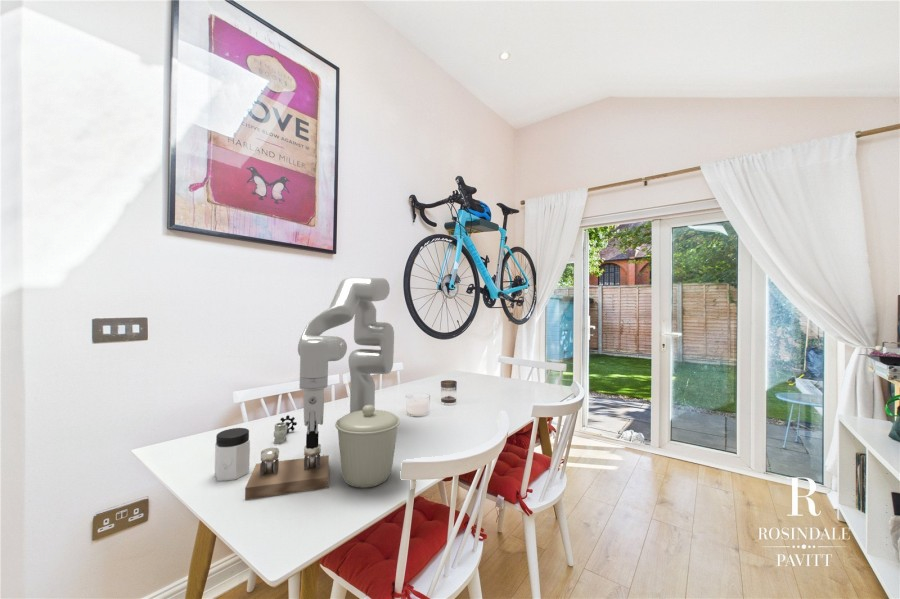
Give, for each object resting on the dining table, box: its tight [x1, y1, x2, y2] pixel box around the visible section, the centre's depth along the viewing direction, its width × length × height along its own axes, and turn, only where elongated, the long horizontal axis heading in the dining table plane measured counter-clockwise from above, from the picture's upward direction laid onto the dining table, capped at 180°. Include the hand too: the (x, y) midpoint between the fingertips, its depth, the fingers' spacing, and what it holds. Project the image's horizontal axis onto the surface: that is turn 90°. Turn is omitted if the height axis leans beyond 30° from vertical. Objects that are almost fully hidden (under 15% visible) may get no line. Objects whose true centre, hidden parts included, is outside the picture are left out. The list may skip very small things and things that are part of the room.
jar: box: [214, 427, 251, 482], centre depth 102 cm, size 9×8×12 cm
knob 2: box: [303, 443, 322, 469], centre depth 101 cm, size 4×4×6 cm
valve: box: [273, 414, 298, 445], centre depth 130 cm, size 7×7×12 cm
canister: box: [334, 405, 401, 489], centre depth 101 cm, size 18×18×21 cm
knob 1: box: [260, 447, 280, 474], centre depth 97 cm, size 4×4×6 cm
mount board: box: [244, 453, 330, 501], centre depth 99 cm, size 20×14×6 cm
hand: (312, 446), depth 101 cm, fingers closed
